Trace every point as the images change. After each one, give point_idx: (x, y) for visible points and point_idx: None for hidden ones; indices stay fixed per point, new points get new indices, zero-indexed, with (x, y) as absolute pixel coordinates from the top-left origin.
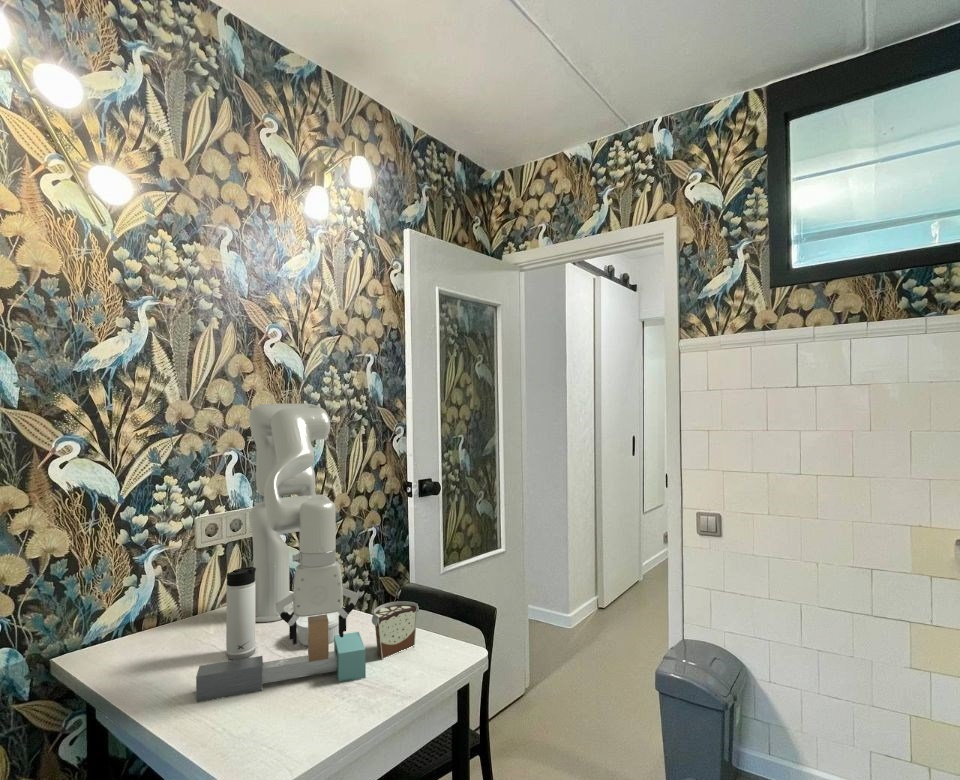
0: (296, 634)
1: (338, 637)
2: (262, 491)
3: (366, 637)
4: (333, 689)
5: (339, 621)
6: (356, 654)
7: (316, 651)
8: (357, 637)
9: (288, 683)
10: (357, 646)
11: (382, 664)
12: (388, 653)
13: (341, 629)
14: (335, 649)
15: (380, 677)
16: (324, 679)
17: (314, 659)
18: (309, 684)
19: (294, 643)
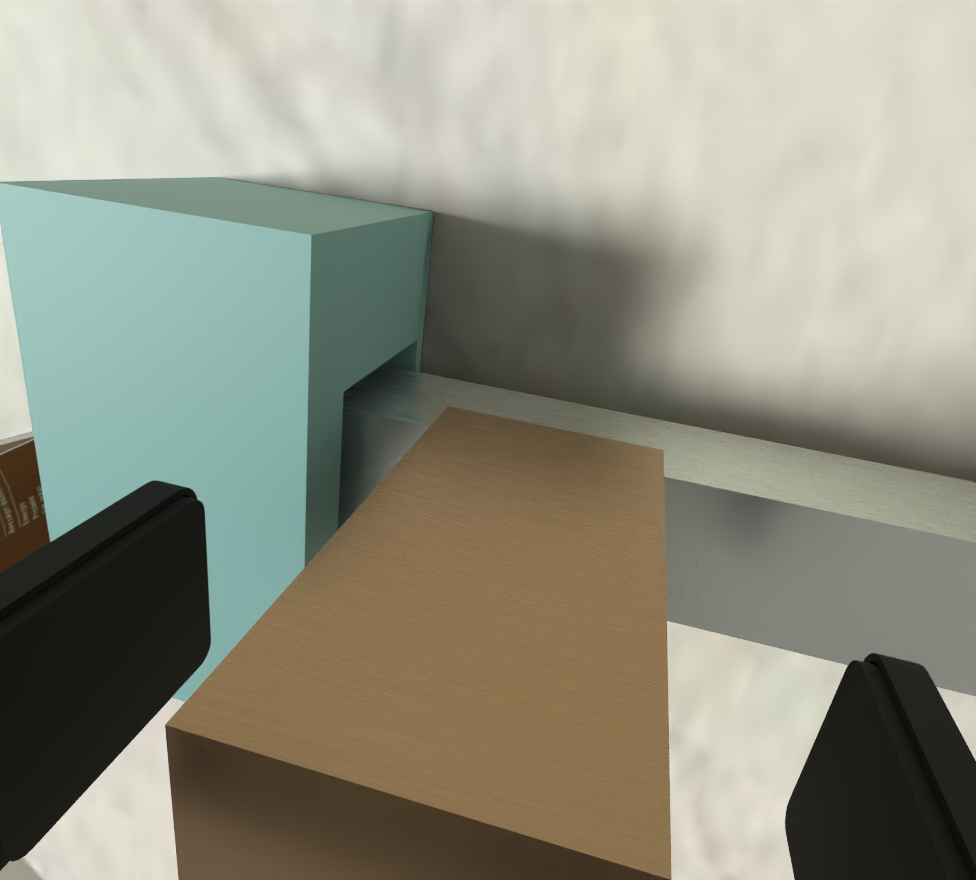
0: (912, 785)
1: None
2: None
3: (155, 767)
4: (504, 106)
5: (36, 692)
6: (130, 195)
7: (564, 475)
8: None
9: (834, 452)
10: (82, 319)
11: None
12: (12, 442)
13: (95, 536)
14: None
15: (104, 121)
16: (532, 348)
17: (599, 443)
18: (674, 329)
19: (901, 666)
